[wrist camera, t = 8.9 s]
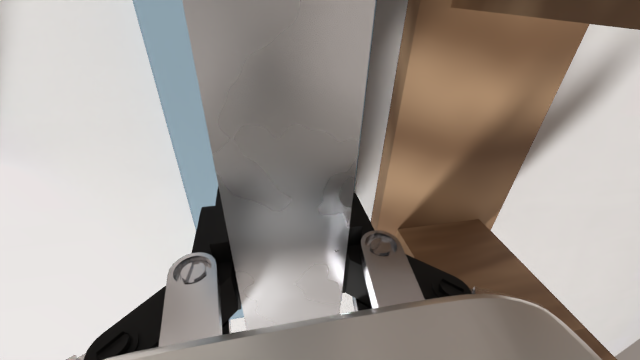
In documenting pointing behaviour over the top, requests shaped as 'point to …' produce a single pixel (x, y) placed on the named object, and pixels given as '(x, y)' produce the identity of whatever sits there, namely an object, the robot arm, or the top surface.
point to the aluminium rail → (284, 142)
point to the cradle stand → (477, 129)
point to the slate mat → (184, 99)
